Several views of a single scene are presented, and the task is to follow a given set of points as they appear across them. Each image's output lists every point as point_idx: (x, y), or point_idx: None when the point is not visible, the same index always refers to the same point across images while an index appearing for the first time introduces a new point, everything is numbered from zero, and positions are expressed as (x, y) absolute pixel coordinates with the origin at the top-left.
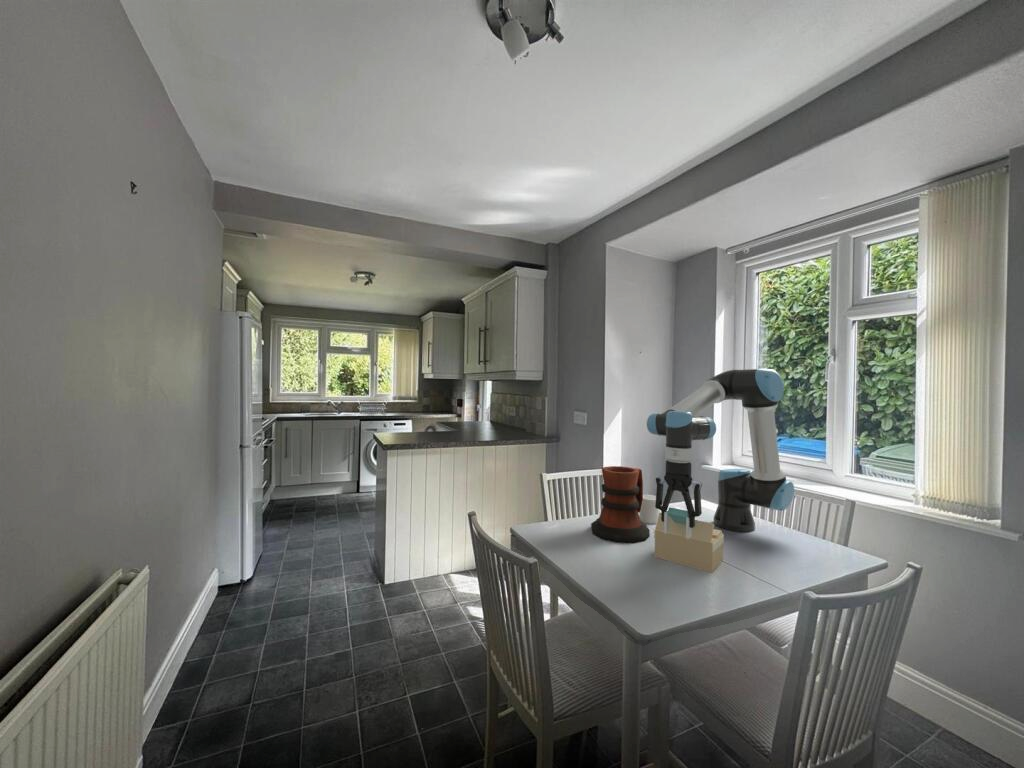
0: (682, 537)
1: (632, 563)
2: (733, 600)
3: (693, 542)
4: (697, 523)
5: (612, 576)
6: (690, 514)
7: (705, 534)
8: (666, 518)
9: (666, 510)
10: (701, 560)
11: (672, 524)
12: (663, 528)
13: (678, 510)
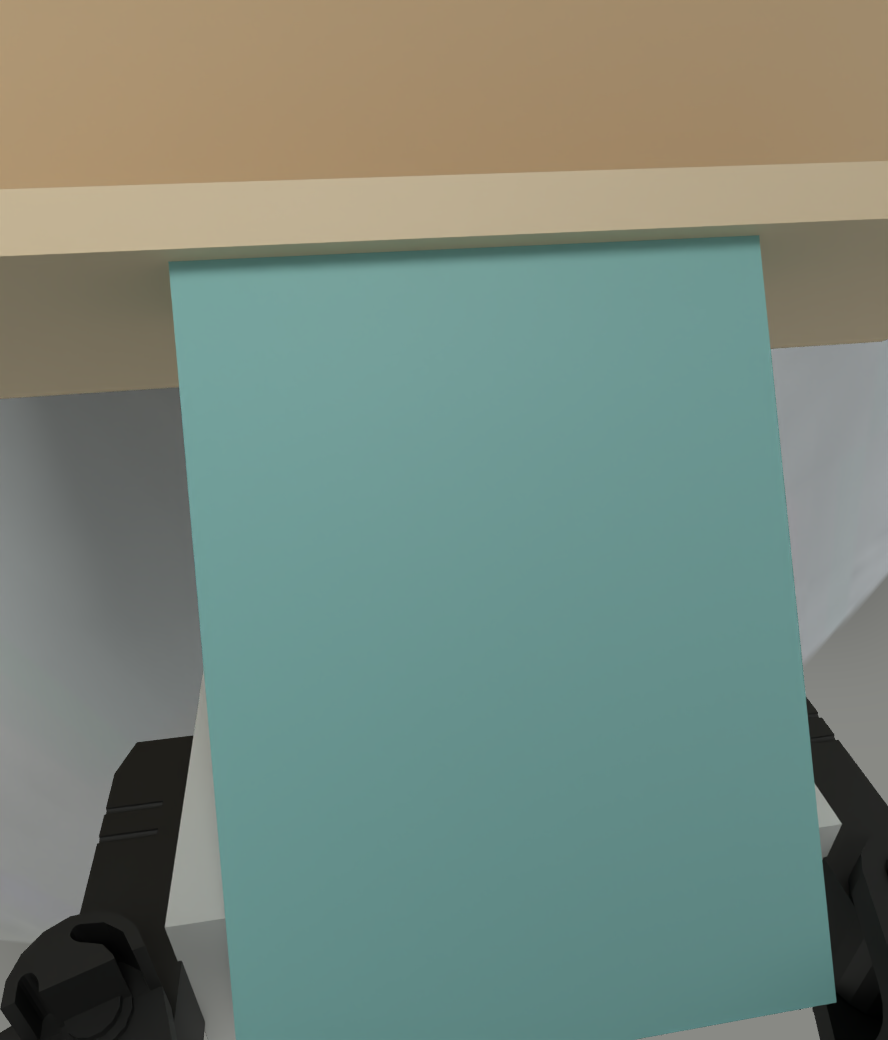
0: None
1: (10, 552)
2: (840, 565)
3: None
4: (796, 254)
5: (96, 801)
6: (862, 1014)
7: (859, 319)
8: None
9: (183, 1000)
10: None
11: (172, 343)
12: (28, 385)
13: (549, 1021)
